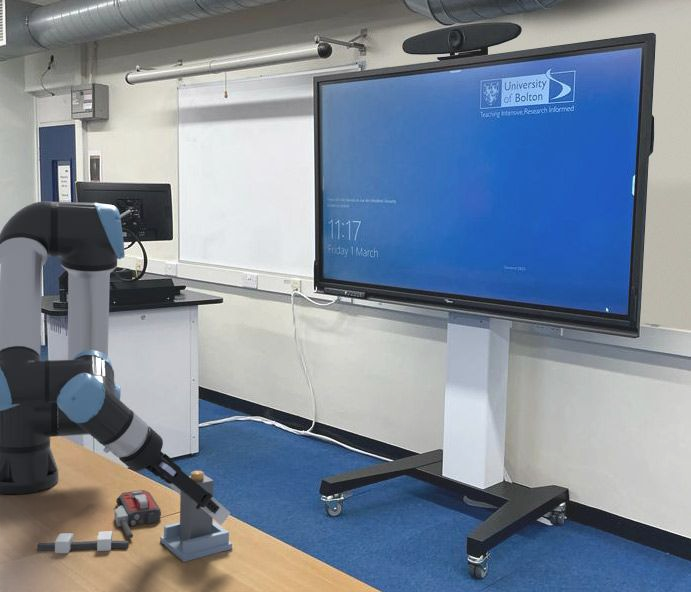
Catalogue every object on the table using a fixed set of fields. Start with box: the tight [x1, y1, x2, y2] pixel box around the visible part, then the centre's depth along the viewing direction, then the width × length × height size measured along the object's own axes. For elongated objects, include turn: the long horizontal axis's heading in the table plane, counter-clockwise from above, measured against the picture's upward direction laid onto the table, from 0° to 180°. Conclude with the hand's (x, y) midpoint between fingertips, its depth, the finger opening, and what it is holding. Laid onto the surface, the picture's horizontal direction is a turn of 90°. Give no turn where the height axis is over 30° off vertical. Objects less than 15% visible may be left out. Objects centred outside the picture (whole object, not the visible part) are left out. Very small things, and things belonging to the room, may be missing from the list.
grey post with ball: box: [179, 470, 214, 541], centre depth 145 cm, size 4×4×13 cm
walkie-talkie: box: [114, 489, 162, 539], centre depth 156 cm, size 9×4×20 cm
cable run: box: [36, 530, 130, 554], centre depth 142 cm, size 4×16×2 cm, turn 102°
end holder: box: [159, 520, 233, 563], centre depth 145 cm, size 10×10×3 cm
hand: (207, 506), depth 146 cm, fingers open, 13 cm apart
